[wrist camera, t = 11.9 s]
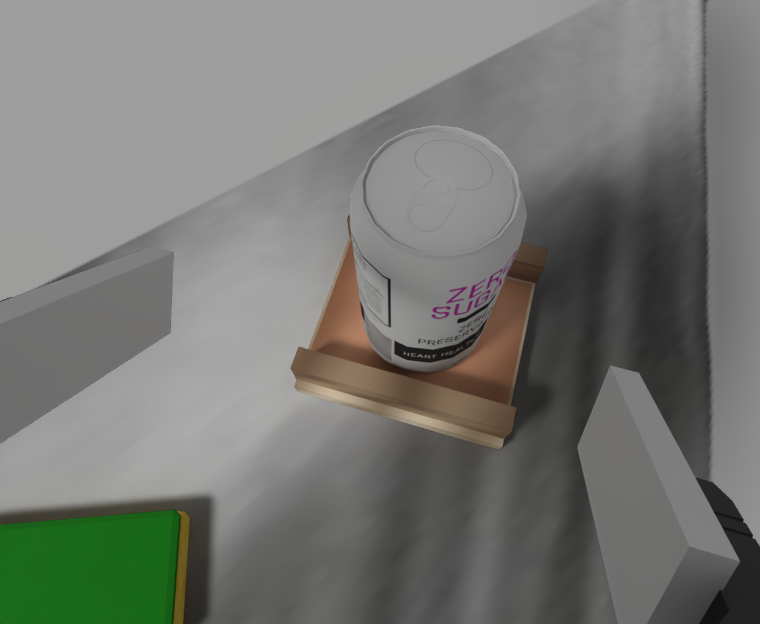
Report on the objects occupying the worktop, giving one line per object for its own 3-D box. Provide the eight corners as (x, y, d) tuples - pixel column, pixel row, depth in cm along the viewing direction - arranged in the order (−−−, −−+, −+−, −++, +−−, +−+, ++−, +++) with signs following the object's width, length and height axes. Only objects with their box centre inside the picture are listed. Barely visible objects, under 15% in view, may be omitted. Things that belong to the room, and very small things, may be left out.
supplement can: (395, 252, 39) (396, 93, 25) (499, 297, 37) (561, 153, 24) (342, 344, 36) (311, 221, 22) (452, 397, 34) (492, 300, 21)
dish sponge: (-26, 530, 33) (-56, 529, 31) (192, 511, 34) (178, 509, 31) (-56, 663, 31) (-91, 672, 28) (184, 642, 31) (168, 648, 29)
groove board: (297, 391, 36) (287, 375, 33) (358, 224, 42) (355, 196, 38) (498, 449, 34) (510, 439, 31) (536, 267, 40) (549, 242, 36)
